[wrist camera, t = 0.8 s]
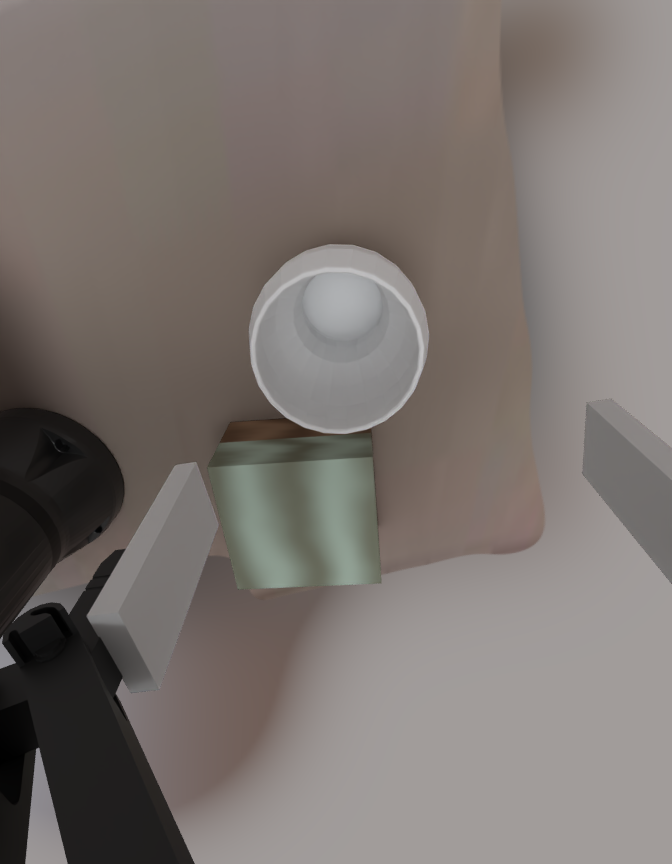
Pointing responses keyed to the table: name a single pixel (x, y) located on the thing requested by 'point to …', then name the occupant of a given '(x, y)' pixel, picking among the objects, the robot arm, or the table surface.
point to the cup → (338, 339)
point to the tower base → (296, 505)
